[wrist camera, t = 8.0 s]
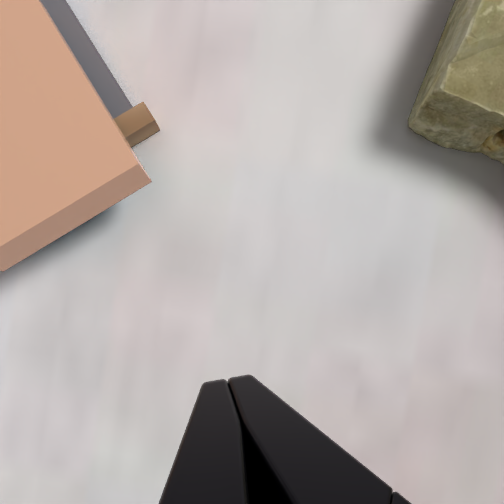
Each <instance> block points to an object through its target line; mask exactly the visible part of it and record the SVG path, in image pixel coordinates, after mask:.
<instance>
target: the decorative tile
mask: <svg viewBox="0 0 504 504" xmlns="http://www.w3.org/2000/svg"><path fill="white" fill-rule="evenodd" d="M408 126H409V127H410V128H411V129H412V130H413V131H414V132H415V133H417V134H419V135H422V136H423V137H425V138H426V139H427V140H429V141H431V142H433V143H436V144H438V145H440V146H443V147H445V148H454V149H457V150H461V151H466V152H471V153H477V152H479V153H483V154H485V155H487V156H488V157H490V158H491V159H494V160H498V161H500V162H501V163H502V164H504V0H455V2H454V5H453V7H452V10H451V12H450V14H449V17H448V20H447V22H446V25H445V28H444V31H443V33H442V36H441V39H440V41H439V43H438V46H437V49H436V51H435V54H434V56H433V59H432V61H431V63H430V65H429V67H428V70H427V73H426V75H425V78H424V80H423V83H422V85H421V88H420V90H419V93H418V95H417V98H416V101H415V103H414V106H413V108H412V111H411V114H410V116H409V119H408Z"/></svg>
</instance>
